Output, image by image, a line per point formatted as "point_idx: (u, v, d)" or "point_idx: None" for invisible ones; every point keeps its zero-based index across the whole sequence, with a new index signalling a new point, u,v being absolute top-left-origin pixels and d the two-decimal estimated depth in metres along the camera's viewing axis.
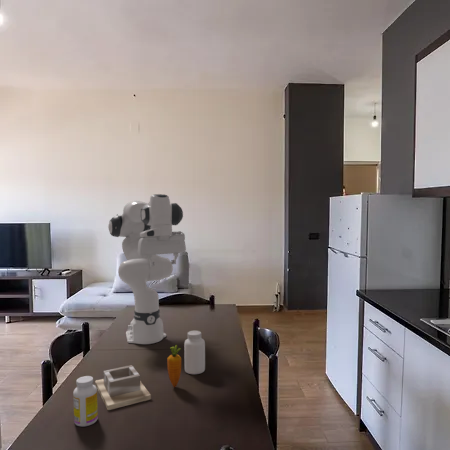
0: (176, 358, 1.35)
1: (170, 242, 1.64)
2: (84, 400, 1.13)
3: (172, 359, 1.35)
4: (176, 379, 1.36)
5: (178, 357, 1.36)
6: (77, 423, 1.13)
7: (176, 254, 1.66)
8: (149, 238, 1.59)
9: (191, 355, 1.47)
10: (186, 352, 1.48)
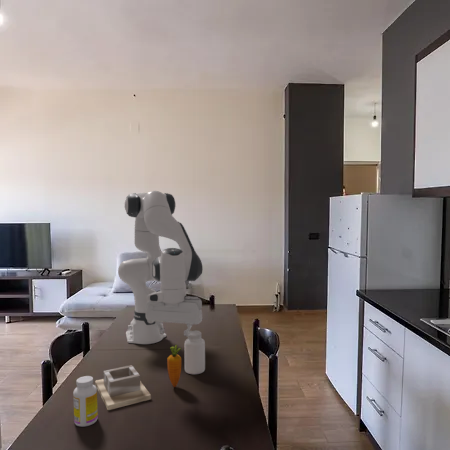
0: (176, 358, 1.35)
1: (180, 310, 1.33)
2: (84, 400, 1.13)
3: (172, 359, 1.35)
4: (176, 379, 1.36)
5: (178, 357, 1.36)
6: (77, 423, 1.13)
7: (188, 325, 1.33)
8: (153, 303, 1.35)
9: (191, 355, 1.47)
10: (186, 352, 1.48)
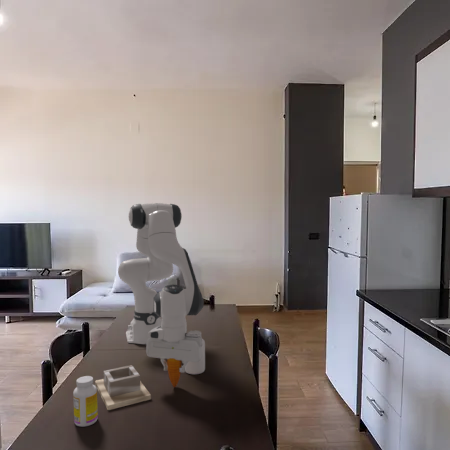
0: None
1: (180, 347, 1.34)
2: (84, 400, 1.13)
3: (172, 359, 1.35)
4: (176, 379, 1.36)
5: None
6: (77, 423, 1.13)
7: (183, 362, 1.35)
8: (154, 340, 1.36)
9: None
10: None
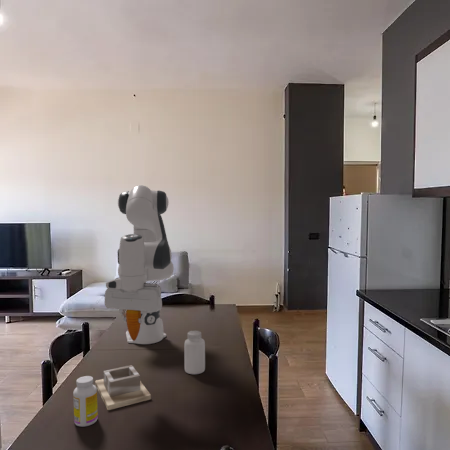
0: (135, 310, 1.32)
1: (139, 297, 1.31)
2: (84, 400, 1.13)
3: (131, 311, 1.31)
4: (135, 332, 1.32)
5: None
6: (77, 423, 1.13)
7: (142, 312, 1.31)
8: (112, 290, 1.32)
9: (191, 355, 1.47)
10: (186, 352, 1.48)
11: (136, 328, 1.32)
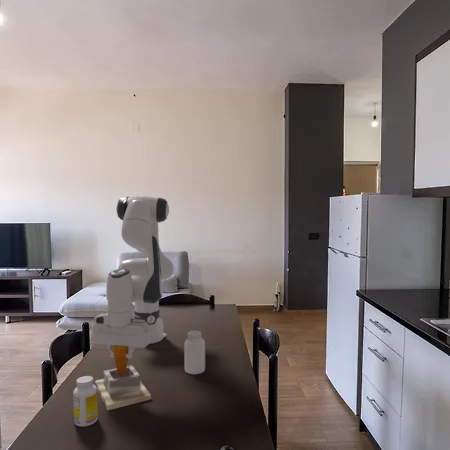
0: (122, 346, 1.32)
1: (126, 332, 1.31)
2: (84, 400, 1.13)
3: (118, 347, 1.31)
4: (122, 367, 1.32)
5: None
6: (77, 423, 1.13)
7: (130, 347, 1.31)
8: (100, 325, 1.32)
9: (191, 355, 1.47)
10: (186, 352, 1.48)
11: (123, 363, 1.32)
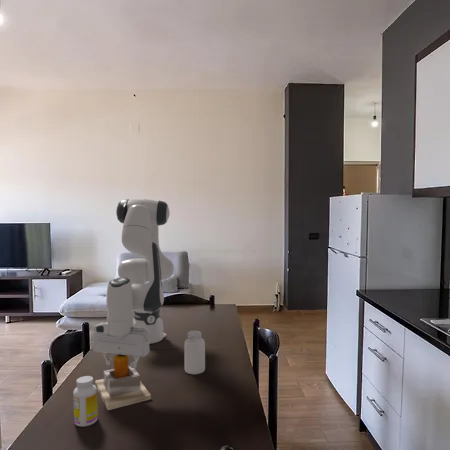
0: (122, 358, 1.32)
1: (126, 341, 1.31)
2: (84, 400, 1.13)
3: (119, 359, 1.31)
4: None
5: (125, 357, 1.33)
6: (77, 423, 1.13)
7: (134, 357, 1.31)
8: (100, 334, 1.32)
9: (191, 355, 1.47)
10: (186, 352, 1.48)
11: (123, 375, 1.32)
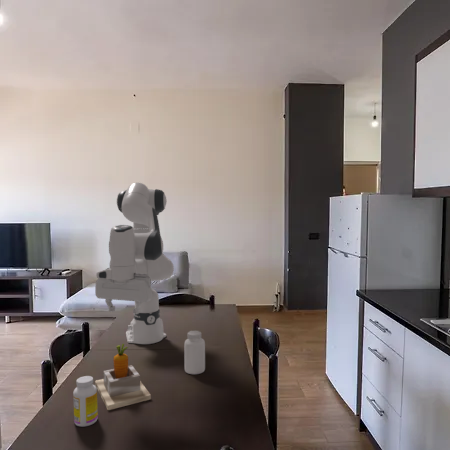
0: (122, 357, 1.32)
1: (129, 287, 1.32)
2: (84, 400, 1.13)
3: (118, 358, 1.32)
4: None
5: (124, 356, 1.33)
6: (77, 423, 1.13)
7: (137, 302, 1.32)
8: (102, 280, 1.33)
9: (191, 355, 1.47)
10: (186, 352, 1.48)
11: (123, 375, 1.33)
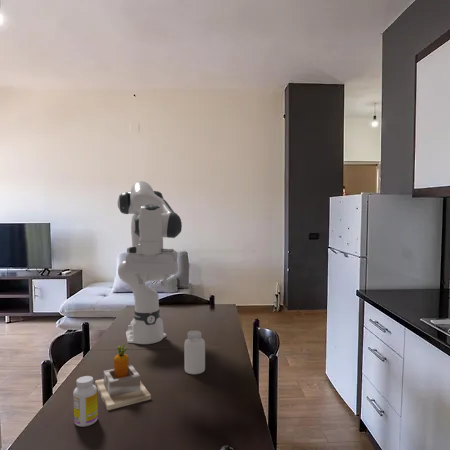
0: (122, 358, 1.32)
1: (157, 261, 1.43)
2: (84, 400, 1.13)
3: (119, 359, 1.31)
4: None
5: (125, 357, 1.33)
6: (77, 423, 1.13)
7: (164, 275, 1.43)
8: (132, 255, 1.45)
9: (191, 355, 1.47)
10: (186, 352, 1.48)
11: (123, 375, 1.33)
